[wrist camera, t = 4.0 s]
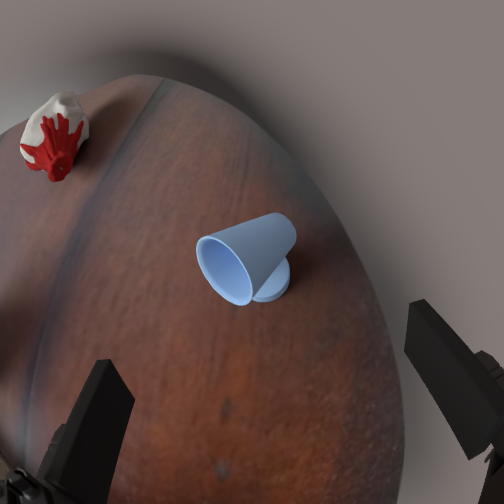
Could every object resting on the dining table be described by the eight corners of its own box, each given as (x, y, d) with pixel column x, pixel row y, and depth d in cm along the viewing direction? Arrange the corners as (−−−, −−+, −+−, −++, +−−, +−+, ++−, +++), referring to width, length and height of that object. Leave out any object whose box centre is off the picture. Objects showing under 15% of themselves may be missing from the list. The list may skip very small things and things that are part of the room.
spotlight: (254, 328, 25) (307, 269, 26) (232, 302, 15) (317, 212, 17) (213, 291, 26) (266, 236, 28) (172, 245, 17) (253, 169, 19)
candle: (87, 110, 40) (114, 164, 36) (35, 150, 38) (52, 213, 34) (64, 74, 31) (84, 123, 27) (6, 120, 30) (12, 183, 26)
